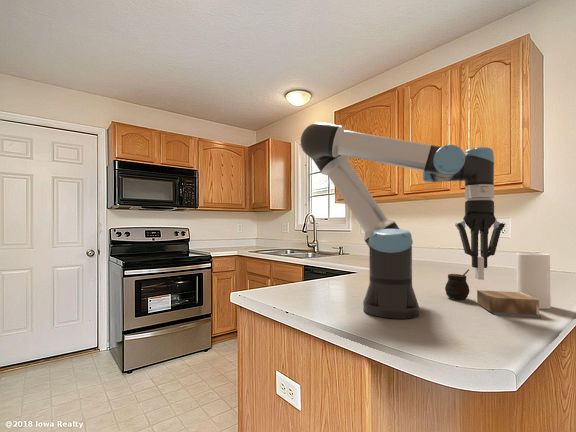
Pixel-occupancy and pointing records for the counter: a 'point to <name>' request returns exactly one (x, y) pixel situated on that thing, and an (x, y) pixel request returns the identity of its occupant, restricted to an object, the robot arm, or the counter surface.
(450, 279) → the mate gourd
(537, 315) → the mat
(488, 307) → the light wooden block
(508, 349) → the counter surface
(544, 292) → the cup
